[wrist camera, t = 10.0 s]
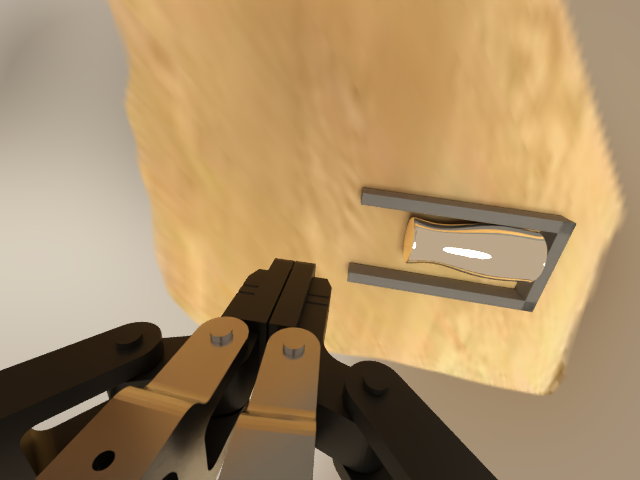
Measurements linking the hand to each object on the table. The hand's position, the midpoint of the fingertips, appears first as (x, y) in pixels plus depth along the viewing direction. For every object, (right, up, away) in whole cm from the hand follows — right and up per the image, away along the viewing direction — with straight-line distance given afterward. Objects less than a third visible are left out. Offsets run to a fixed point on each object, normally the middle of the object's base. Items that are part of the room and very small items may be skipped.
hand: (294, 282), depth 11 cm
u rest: (+18, +1, +30) cm, 35 cm away
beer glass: (+12, +2, +27) cm, 30 cm away
